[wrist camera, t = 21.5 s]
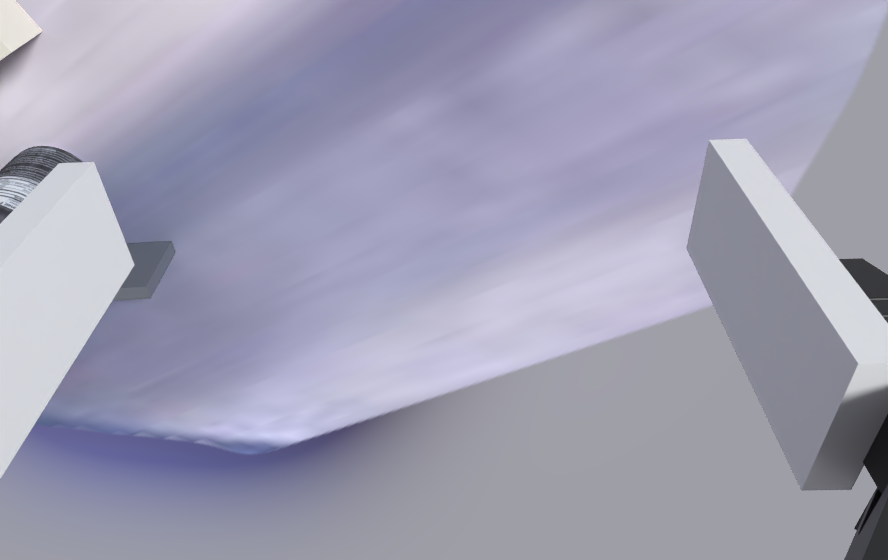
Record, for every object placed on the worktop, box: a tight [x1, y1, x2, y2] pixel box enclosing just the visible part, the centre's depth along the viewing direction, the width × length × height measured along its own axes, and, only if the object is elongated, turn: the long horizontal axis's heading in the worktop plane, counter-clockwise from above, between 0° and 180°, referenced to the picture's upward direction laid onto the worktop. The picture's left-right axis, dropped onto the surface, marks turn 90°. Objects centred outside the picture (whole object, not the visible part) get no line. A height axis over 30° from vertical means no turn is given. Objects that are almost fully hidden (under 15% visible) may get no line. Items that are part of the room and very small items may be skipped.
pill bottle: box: [0, 146, 83, 224], centre depth 43 cm, size 6×6×11 cm
